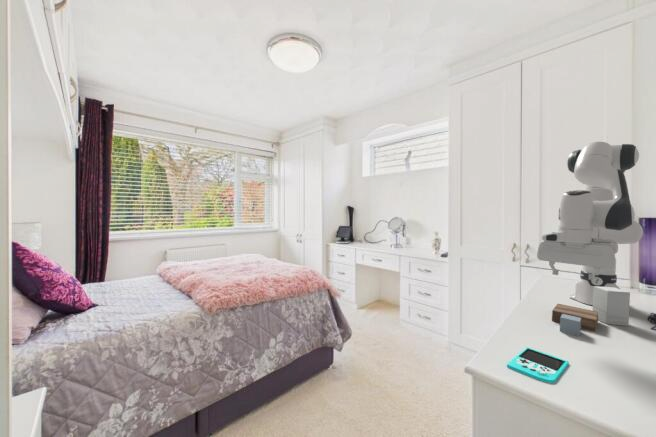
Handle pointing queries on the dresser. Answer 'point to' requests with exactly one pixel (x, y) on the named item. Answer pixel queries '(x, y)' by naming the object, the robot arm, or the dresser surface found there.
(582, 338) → the dresser surface
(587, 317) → the walnut base
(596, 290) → the supplement box
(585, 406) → the dresser surface
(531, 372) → the handheld game console
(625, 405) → the dresser surface
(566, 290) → the dresser surface
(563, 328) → the slate block
